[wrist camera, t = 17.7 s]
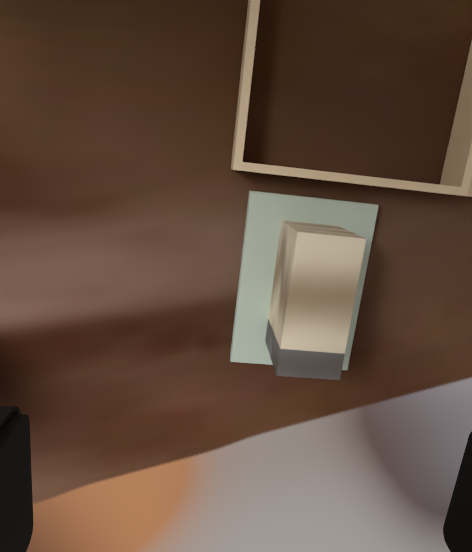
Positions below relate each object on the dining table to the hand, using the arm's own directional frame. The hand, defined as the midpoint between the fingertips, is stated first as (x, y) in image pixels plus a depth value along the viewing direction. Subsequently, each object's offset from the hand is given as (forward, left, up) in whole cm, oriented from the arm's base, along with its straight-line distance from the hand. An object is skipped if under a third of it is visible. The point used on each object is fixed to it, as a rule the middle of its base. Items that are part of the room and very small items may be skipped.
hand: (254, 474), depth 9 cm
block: (+2, +7, -25) cm, 26 cm away
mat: (+2, +7, -26) cm, 27 cm away
